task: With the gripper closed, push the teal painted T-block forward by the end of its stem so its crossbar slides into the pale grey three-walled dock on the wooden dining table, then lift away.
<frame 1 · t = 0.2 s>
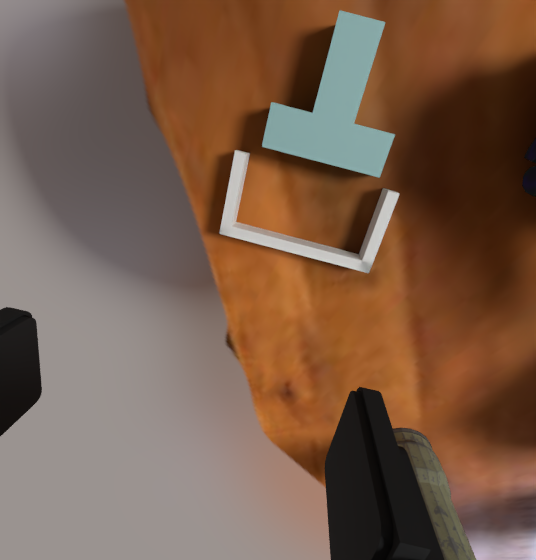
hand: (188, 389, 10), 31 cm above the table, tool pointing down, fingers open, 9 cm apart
dock: (305, 210, 38), on the table
t block: (336, 100, 34), on the table
thermos: (400, 449, 49), on the table
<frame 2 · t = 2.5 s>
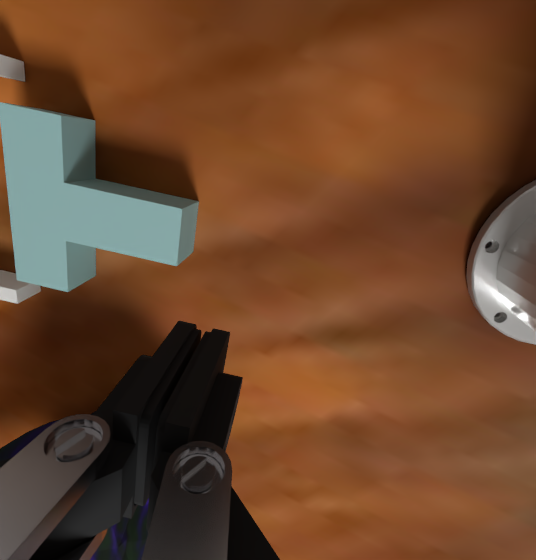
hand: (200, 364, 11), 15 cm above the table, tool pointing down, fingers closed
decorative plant: (131, 481, 37), on the table
t block: (120, 210, 25), on the table
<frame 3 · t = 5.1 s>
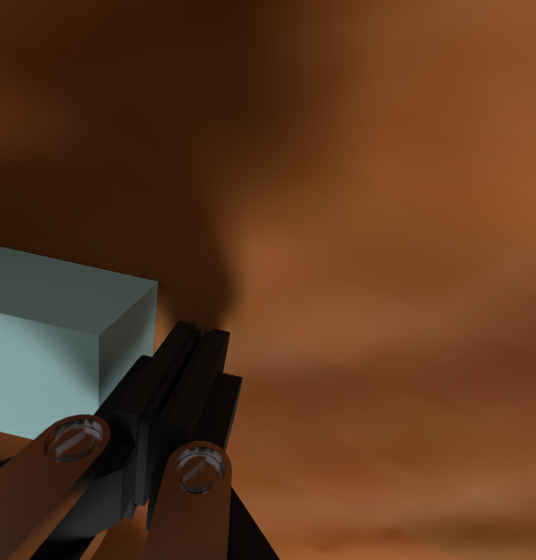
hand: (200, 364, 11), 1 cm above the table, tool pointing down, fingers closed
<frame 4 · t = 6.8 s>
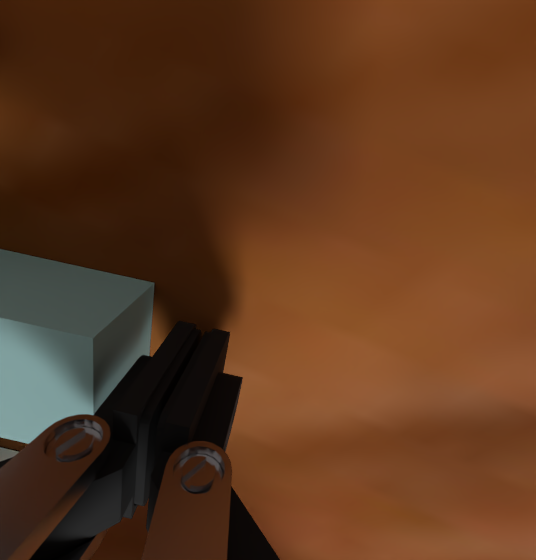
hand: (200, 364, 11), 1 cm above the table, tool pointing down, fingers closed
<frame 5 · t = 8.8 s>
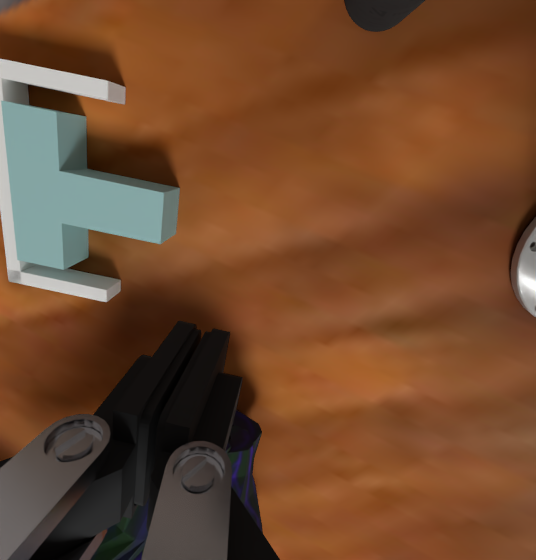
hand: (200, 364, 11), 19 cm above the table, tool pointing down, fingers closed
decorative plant: (190, 466, 40), on the table
dock: (72, 190, 29), on the table
t block: (110, 197, 29), on the table
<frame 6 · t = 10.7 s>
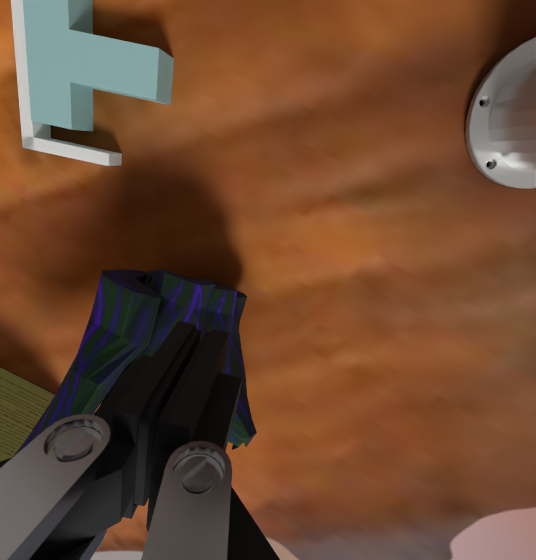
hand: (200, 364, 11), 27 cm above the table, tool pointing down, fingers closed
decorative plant: (183, 349, 44), on the table
protein box: (20, 401, 50), on the table
dock: (79, 63, 32), on the table
t block: (112, 69, 32), on the table
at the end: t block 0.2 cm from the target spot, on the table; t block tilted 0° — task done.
